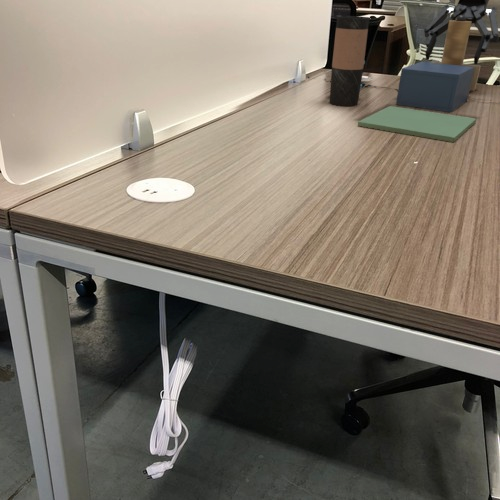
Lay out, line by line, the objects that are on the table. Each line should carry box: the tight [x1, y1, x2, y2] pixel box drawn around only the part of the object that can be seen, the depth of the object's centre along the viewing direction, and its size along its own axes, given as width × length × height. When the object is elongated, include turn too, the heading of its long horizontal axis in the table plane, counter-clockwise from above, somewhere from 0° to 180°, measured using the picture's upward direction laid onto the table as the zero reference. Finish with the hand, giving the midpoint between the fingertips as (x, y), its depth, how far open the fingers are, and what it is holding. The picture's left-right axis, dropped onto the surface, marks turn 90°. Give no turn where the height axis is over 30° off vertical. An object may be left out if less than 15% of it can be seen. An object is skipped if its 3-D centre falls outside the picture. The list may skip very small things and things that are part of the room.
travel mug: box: [329, 15, 370, 107], centre depth 124 cm, size 8×8×20 cm
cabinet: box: [395, 61, 474, 113], centre depth 130 cm, size 17×14×9 cm
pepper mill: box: [440, 15, 472, 66], centre depth 137 cm, size 6×6×18 cm
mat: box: [357, 105, 477, 143], centre depth 110 cm, size 20×20×1 cm
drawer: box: [433, 60, 481, 92], centre depth 141 cm, size 20×13×7 cm, turn 147°
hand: (450, 58), depth 135 cm, fingers open, 12 cm apart
